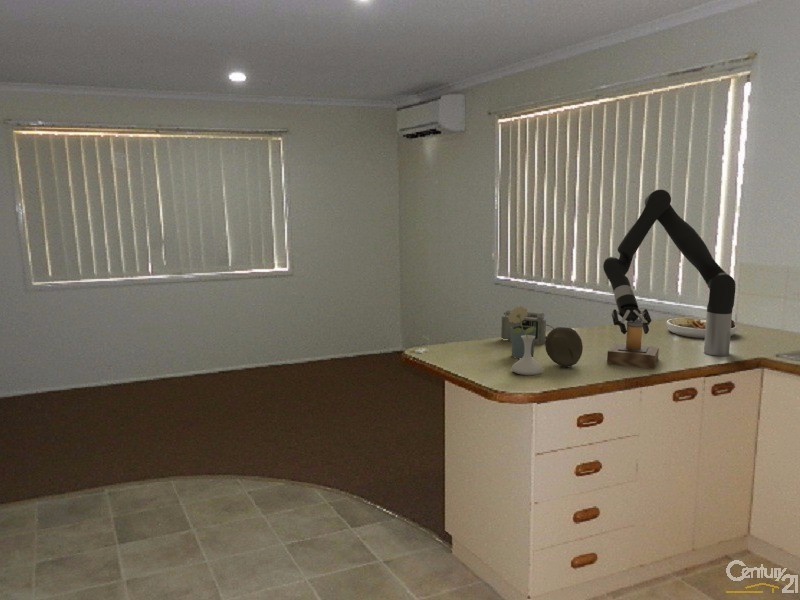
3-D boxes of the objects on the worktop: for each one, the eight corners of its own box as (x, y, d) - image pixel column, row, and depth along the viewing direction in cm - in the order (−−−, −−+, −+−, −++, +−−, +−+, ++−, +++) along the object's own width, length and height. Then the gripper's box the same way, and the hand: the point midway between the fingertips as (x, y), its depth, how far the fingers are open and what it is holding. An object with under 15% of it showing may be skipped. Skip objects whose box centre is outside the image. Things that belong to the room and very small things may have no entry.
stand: (658, 359, 249) (658, 346, 248) (654, 368, 234) (655, 354, 234) (613, 354, 256) (613, 341, 255) (607, 363, 242) (607, 350, 241)
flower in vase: (538, 369, 234) (540, 303, 230) (546, 377, 223) (549, 308, 219) (503, 369, 234) (505, 303, 230) (510, 378, 222) (511, 308, 219)
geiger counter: (500, 310, 282) (556, 314, 270) (504, 307, 287) (559, 312, 276) (499, 340, 284) (554, 346, 272) (504, 337, 289) (558, 343, 278)
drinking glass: (516, 360, 248) (517, 330, 246) (505, 354, 257) (506, 325, 256) (539, 358, 250) (540, 329, 249) (527, 352, 260) (528, 324, 258)
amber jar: (642, 347, 246) (643, 322, 244) (640, 350, 241) (641, 324, 239) (626, 345, 249) (627, 320, 247) (624, 348, 243) (625, 323, 242)
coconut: (586, 364, 241) (587, 326, 239) (576, 372, 229) (578, 332, 227) (550, 359, 248) (551, 322, 246) (538, 367, 236) (540, 328, 234)
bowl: (669, 338, 289) (670, 321, 288) (663, 326, 317) (664, 310, 316) (742, 342, 280) (743, 325, 279) (729, 329, 309) (730, 313, 307)
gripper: (610, 293, 248) (621, 327, 239) (646, 293, 249) (657, 327, 240) (605, 304, 254) (614, 338, 245) (639, 304, 255) (650, 338, 246)
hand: (635, 332), depth 242 cm, fingers open, 8 cm apart
